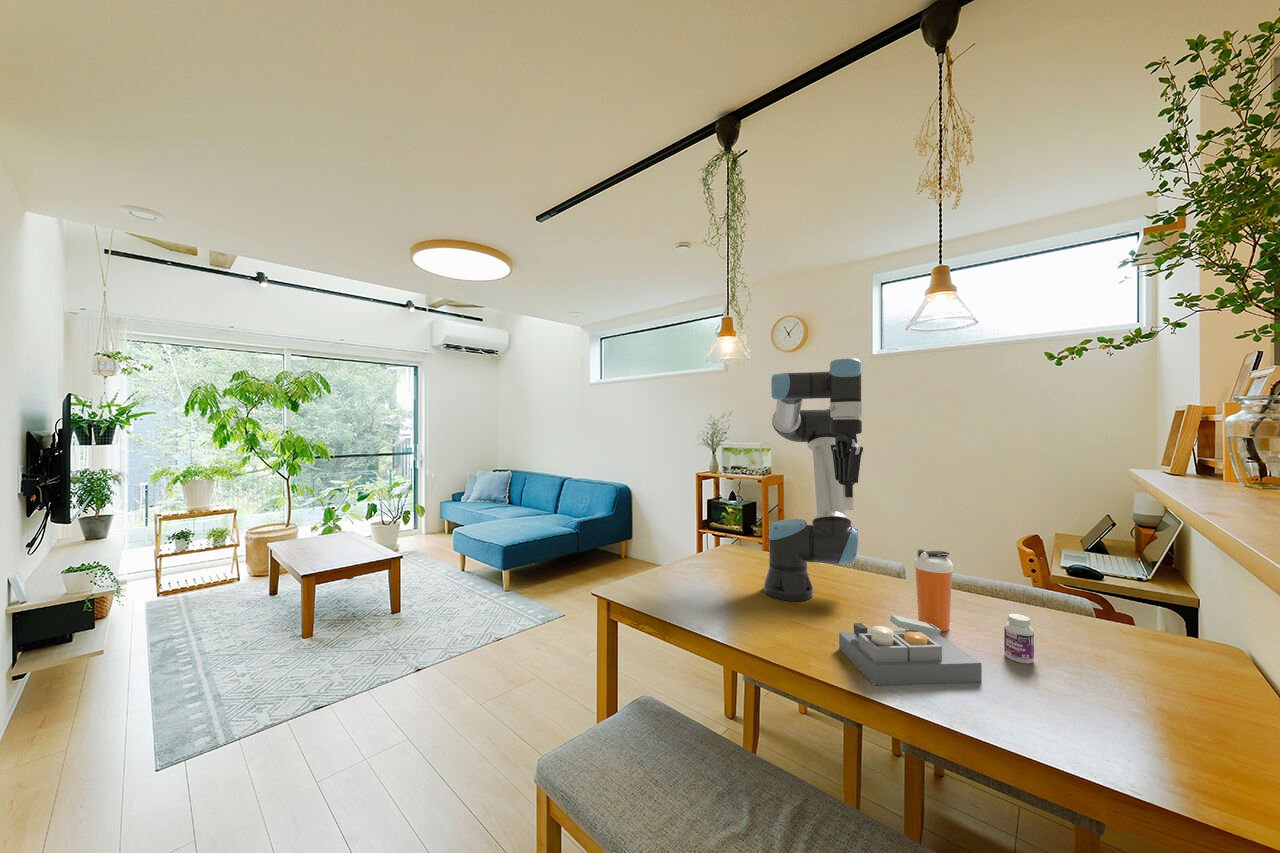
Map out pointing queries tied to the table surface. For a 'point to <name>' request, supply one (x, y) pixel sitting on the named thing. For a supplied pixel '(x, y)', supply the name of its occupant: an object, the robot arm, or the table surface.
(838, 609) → the table surface
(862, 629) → the slider
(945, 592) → the shaker bottle
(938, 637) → the panel
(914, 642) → the button
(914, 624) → the block
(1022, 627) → the pill bottle
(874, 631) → the button
